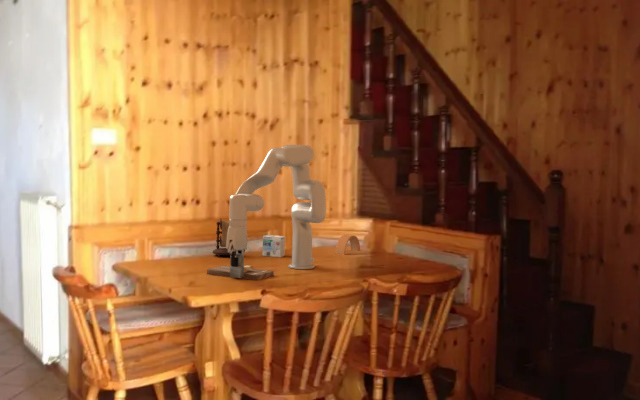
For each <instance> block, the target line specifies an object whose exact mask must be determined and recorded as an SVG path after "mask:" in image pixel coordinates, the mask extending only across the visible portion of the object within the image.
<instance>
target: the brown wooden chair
mask: <svg viewBox="0 0 640 400" xmlns="http://www.w3.org/2000/svg"><path fill="white" fill-rule="evenodd" d="M228 227H229V220H227V221H226V220H225V221H223V220H222V218H220V219H219V221H216V232H215V233H216V241H215V242H216V247H215V249H214V250H212V254H213V255H217V257H218V258H220V256H230V253H228V250H227V249H226V241H227V232H228ZM233 250H234V249H233ZM233 252H234V253H235V251H233Z"/></svg>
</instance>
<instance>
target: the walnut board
mask: <svg viewBox="0 0 640 400" xmlns="http://www.w3.org/2000/svg"><path fill="white" fill-rule="evenodd" d="M206 274H207V275H212V276H217V277H219V276H220V277H227V278H228V277H230V265H221V266H217V267H212V268H208V269H207V270H206ZM274 274H275V273H274V270H267V269H258V268H257V269H256V268H253V270H251V271H248V272H244V277H241V278H240V279H243V280H254V281H259V280H262V279H266V278H269V277H274ZM230 278H231V277H230ZM235 278H236V277H234V279H235ZM236 279H237V278H236Z"/></svg>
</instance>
